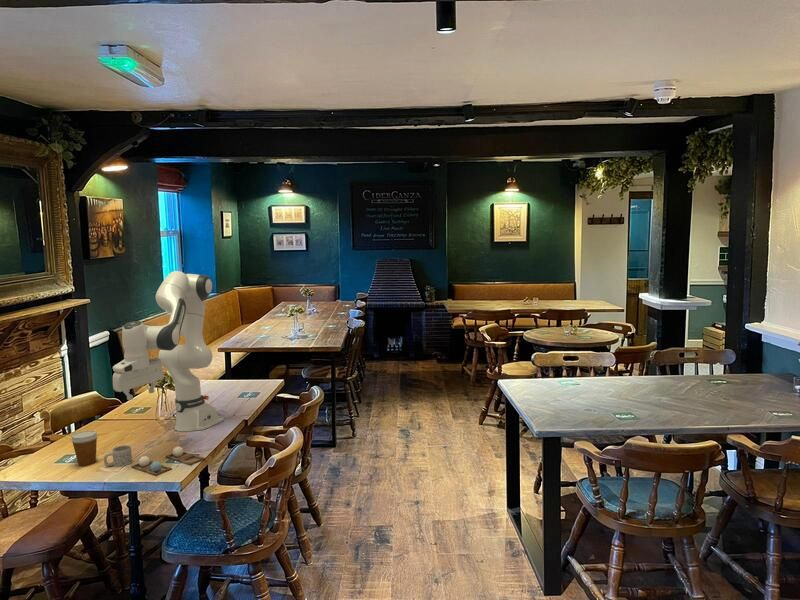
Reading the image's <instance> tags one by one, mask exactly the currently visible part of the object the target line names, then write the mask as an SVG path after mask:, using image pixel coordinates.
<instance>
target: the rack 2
mask: <svg viewBox="0 0 800 600" xmlns="http://www.w3.org/2000/svg"><path fill="white" fill-rule="evenodd" d="M165 459H168V460H171V461H174V462H177V463H180V464H184V465H187V466H193V465H196V464H198V463H201V462H203V461H205V460H206V457H203V456H201V455H197V454H193V453H190V452H187V451H184V450H183V454H182V455H181V456H180V457H176V456H174V455H173V453H170V454H169V455H168V454H167V455H165Z"/></svg>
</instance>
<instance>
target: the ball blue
mask: <svg viewBox="0 0 800 600" xmlns="http://www.w3.org/2000/svg"><path fill="white" fill-rule="evenodd" d="M152 462H153V463H152V464H151V466H150V469H151V471H152V472H159V471H160V470H161V468H162V465H163V464H162V463H161V462H160V461H152Z"/></svg>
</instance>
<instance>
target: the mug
mask: <svg viewBox="0 0 800 600" xmlns="http://www.w3.org/2000/svg"><path fill="white" fill-rule="evenodd" d="M110 456H111V457H112V458H113V459H112V462H110V463H109V462H108V460H107V459H108V457H110ZM132 456H133V455H132V447H131V446H130V445H119V446H115V447H114V448H112V450H111V451H110V452H108V453H106V454H105V455H104V456H103V462H104V463H103V464H104V466H105V467H113V466H114V467H124V466H127V465H130V464H132V463H133V457H132Z"/></svg>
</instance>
